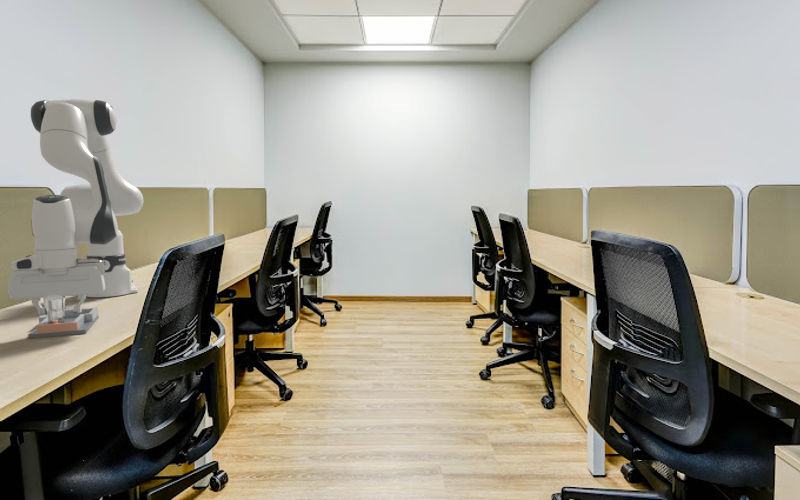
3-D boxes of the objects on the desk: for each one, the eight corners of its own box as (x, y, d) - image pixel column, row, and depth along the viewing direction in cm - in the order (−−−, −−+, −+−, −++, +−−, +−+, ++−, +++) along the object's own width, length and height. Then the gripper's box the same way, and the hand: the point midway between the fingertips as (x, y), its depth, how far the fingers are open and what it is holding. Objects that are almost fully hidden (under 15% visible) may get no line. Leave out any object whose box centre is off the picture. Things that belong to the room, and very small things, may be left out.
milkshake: (73, 327, 126) (72, 288, 125) (53, 331, 121) (51, 292, 120) (61, 325, 128) (59, 287, 127) (40, 329, 123) (38, 290, 122)
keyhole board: (48, 321, 136) (47, 311, 135) (98, 317, 140) (97, 307, 140) (28, 338, 119) (27, 326, 119) (85, 333, 124) (85, 321, 124)
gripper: (106, 256, 130) (109, 307, 132) (11, 260, 122) (16, 314, 124) (102, 259, 124) (105, 312, 126) (2, 263, 116) (7, 320, 118)
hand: (60, 313), depth 125 cm, fingers open, 6 cm apart
